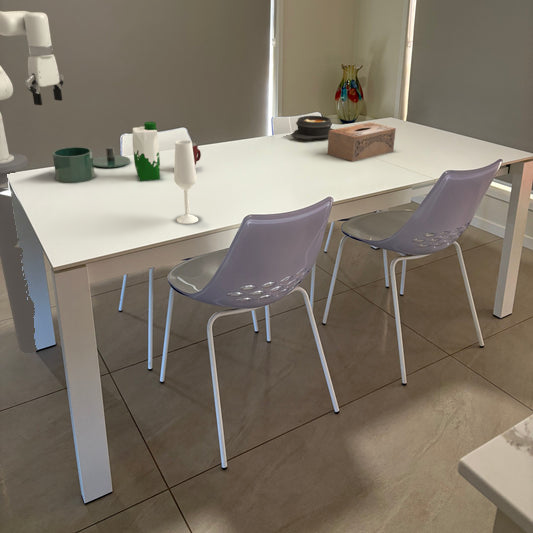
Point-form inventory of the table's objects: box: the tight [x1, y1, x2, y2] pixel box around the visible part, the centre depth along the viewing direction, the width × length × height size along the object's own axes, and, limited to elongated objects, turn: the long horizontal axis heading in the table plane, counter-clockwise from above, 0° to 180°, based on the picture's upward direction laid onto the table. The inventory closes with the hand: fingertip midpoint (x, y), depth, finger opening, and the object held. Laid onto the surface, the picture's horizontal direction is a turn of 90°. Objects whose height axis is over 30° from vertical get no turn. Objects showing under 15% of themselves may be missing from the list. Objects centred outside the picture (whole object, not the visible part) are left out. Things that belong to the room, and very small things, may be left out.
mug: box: [191, 141, 202, 166], centre depth 226 cm, size 10×8×10 cm
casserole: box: [290, 115, 335, 140], centre depth 275 cm, size 25×19×8 cm
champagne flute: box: [173, 139, 199, 225], centre depth 175 cm, size 7×7×24 cm
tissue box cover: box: [327, 121, 396, 162], centre depth 250 cm, size 26×14×10 cm, turn 130°
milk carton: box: [132, 121, 161, 182], centre depth 214 cm, size 9×9×20 cm
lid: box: [93, 146, 131, 168], centre depth 232 cm, size 15×15×6 cm
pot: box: [52, 146, 96, 184], centre depth 216 cm, size 14×14×10 cm
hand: (48, 102), depth 209 cm, fingers open, 9 cm apart
